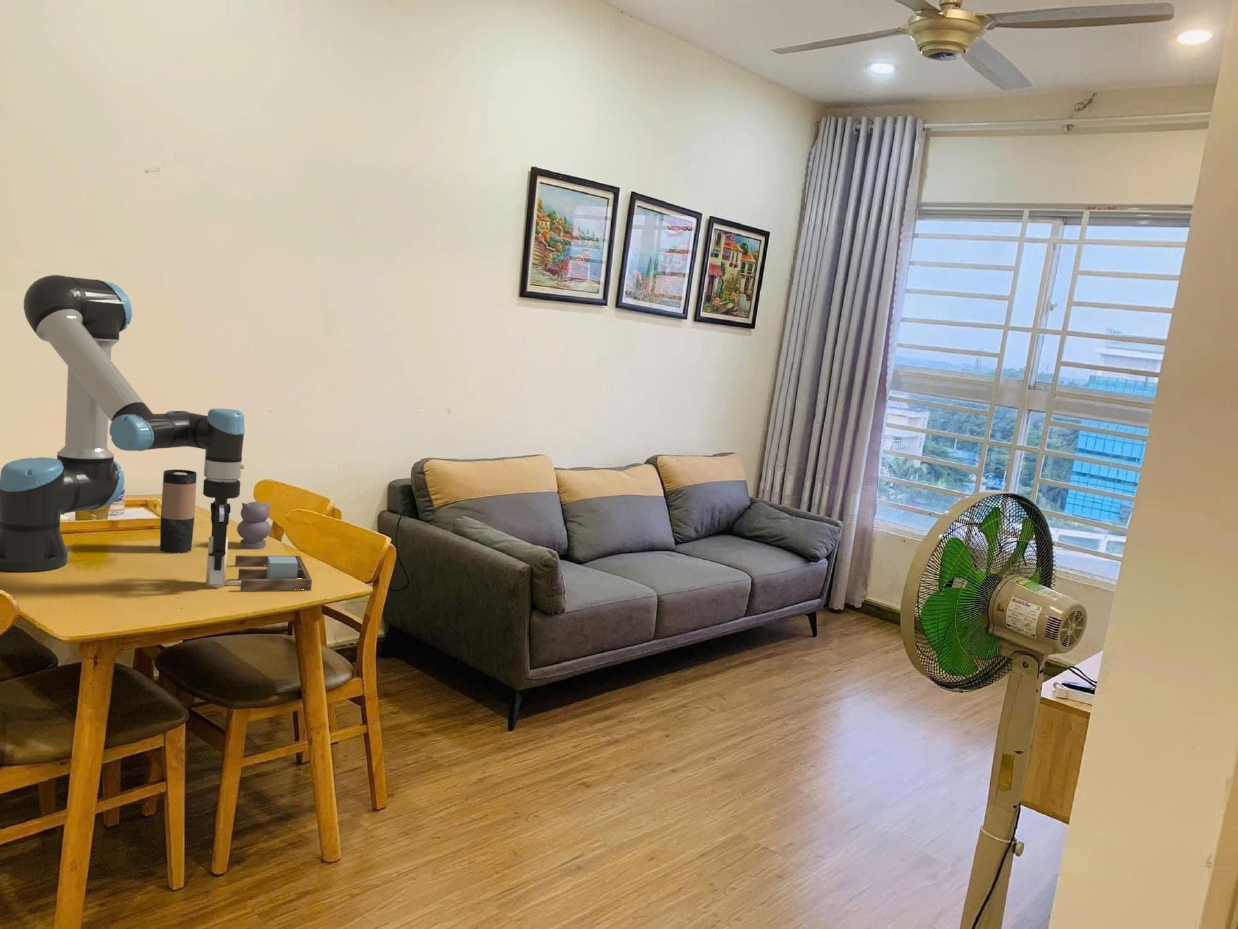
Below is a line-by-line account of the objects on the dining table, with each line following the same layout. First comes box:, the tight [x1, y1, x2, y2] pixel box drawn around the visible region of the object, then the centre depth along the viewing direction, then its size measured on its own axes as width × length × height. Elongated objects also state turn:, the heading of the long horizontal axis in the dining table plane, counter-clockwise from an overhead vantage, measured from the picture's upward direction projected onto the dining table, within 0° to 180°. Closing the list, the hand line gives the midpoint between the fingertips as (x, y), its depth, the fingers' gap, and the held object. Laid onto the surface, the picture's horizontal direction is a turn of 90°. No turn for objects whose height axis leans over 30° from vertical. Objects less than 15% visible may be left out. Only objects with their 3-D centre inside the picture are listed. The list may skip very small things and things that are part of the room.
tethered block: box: [205, 536, 298, 589], centre depth 208 cm, size 19×6×11 cm, turn 116°
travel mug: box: [159, 469, 198, 554], centre depth 229 cm, size 8×8×20 cm
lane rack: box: [234, 554, 313, 592], centre depth 216 cm, size 15×22×2 cm
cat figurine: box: [236, 501, 273, 550], centre depth 242 cm, size 8×8×12 cm
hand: (215, 580), depth 205 cm, fingers closed on tethered block, 4 cm apart
